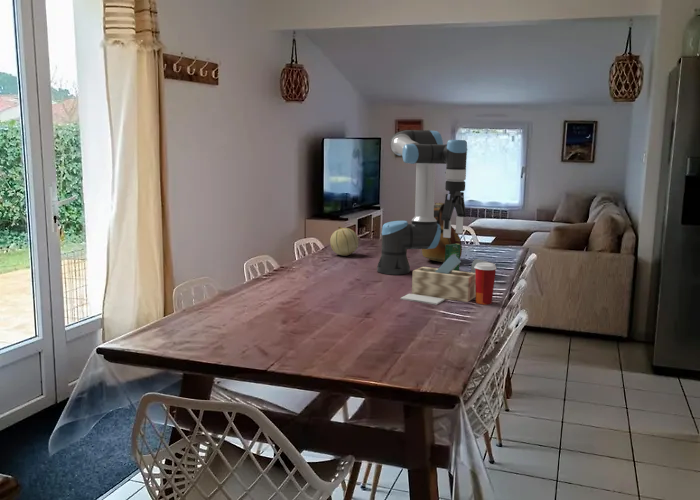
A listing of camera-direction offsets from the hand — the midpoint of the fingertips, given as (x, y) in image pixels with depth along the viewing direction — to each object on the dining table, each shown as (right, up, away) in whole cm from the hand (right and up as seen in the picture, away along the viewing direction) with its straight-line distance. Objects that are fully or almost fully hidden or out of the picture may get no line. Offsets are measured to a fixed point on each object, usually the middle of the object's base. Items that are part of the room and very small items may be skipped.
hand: (453, 235), depth 252 cm
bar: (-2, -16, +4) cm, 17 cm away
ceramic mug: (+20, -18, +43) cm, 50 cm away
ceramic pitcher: (+6, -12, +74) cm, 75 cm away
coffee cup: (+11, -26, -4) cm, 29 cm away
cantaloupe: (-43, -9, +87) cm, 97 cm away
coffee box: (+7, -16, +51) cm, 54 cm away
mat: (-12, -25, -2) cm, 28 cm away
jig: (-2, -24, +5) cm, 25 cm away
